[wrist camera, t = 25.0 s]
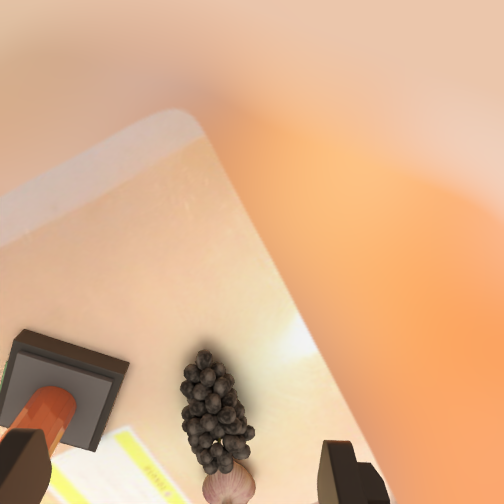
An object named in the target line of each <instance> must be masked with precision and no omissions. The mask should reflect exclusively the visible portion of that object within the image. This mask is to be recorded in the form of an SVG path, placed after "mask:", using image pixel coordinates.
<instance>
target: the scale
mask: <svg viewBox="0 0 504 504" xmlns="http://www.w3.org/2000/svg"><path fill="white" fill-rule="evenodd" d="M128 366H129V363H128V362H125V361H122V360H119V359H116V358H113V357H110V356H106V355H103V354H100V353H97V352H94V351H91V350H88V349H85V348H81V347H78V346H75V345H72V344H69V343H66V342H63V341H60V340H57V339H53V338H50V337H47V336H44V335H41V334H38V333H35V332H32V331H29V330H25V329H24V330H23V331H22V332H21V333H20V334H19V335H18V336H17V337H16V338H15V339H14V340H13V344H12V348H11V352H10V356H9V360H8V361H7V362H6V364H5V368H4V372H3V376H2V380H1V384H0V426H2V427H6V428H8V427H9V426H10V424H11V423H12V421H13V420H14V419H15V417H16V416H17V414H18V413H19V412H20V410H21V409H22V407H23V406H24V405H25V403H26V402H27V400H28V399H29V398H30V397H31V395H32V394H33V393H34V392H35V391H36V390H37V389H39V388H41V387H45V386H56V387H60V388H62V389H64V390H66V391H68V392H69V393H70V394H71V395H72V396H73V397H74V399H75V401H76V405H77V409H76V412H75V414H74V416H73V419H72V421H71V423H70V424H69V426H68V428H67V430H66V432H65V434H64V436H63V438H62V439H61V441H60V443H63V444H67V445H71V446H74V447H78V448H81V449H85V450H89V451H92V452H96V449H97V447H98V444H99V442H100V440H101V437H102V435H103V432H104V429H105V427H106V424H107V421H108V419H109V416H110V414H111V411H112V408H113V406H114V403H115V400H116V398H117V395H118V392H119V390H120V387H121V385H122V382H123V379H124V377H125V374H126V371H127V369H128Z"/></svg>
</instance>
